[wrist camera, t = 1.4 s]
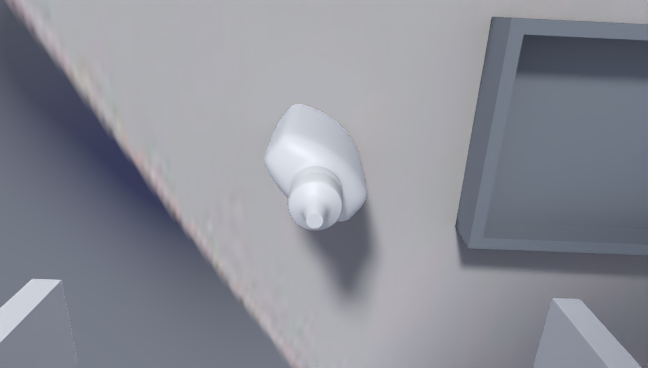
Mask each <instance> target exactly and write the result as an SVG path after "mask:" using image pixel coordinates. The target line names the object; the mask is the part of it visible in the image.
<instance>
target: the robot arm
mask: <svg viewBox="0 0 648 368" xmlns="http://www.w3.org/2000/svg"><path fill="white" fill-rule="evenodd" d="M77 362H78V360H77V355H76V350H75V345H74V340H73V335H72V330H71V325H70V320H69V315H68V310H67V305H66V300H65V295H64V290H63V285H62V280H47V279H46V280H45V279H32V280H31V281H30V282H28V283H27V284H26V285H25V286H24V287H23V288H22V289H21V290H20V291H19V292H17V294H15V295H14V296H13V297H12V298H11V299H10V300H9V301H8V302H7V303H5V304H4V305H3V306H2V307H1V308H0V368H74V367H75V365H76V364H77ZM533 368H642V367H641V366H640V365H639V364H638V363H637V362H636V361H635V359H634V358H633V357H632V356H631V355H630V354H629V353H628V352H627V351H626V349H625V348H624V347H623V346H622V345H621V344H620V343H619V342H618V341H617V339H616V338H615V337H614V336H613V335H612V334H611V333H610V332H609V331H608V329H607V328H606V327H605V326H604V325H603V324H602V323H601V322H600V321H599V319H598V318H597V317H596V316H595V315H594V314H593V313H592V312H591V311H590V309H589V308H588V307H587V306H586V305H585V304H584V303H583V302H582V301H581V299H565V298H552V300H551V304H550V307H549V311H548V315H547V318H546V322H545V326H544V329H543V333H542V336H541V340H540V344H539V347H538V351H537V354H536V358H535V362H534V365H533Z"/></svg>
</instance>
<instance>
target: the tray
mask: <svg viewBox="0 0 648 368" xmlns="http://www.w3.org/2000/svg"><path fill="white" fill-rule="evenodd" d="M455 227H456V229H457V231H458V232H459V234H460V236H461V237H462V239H463V241H464V242H465V244H466V246H467V247H468V248H472V249H497V250H522V251H547V252H572V253H597V254H621V255H646V256H648V24H628V23H607V22H587V21H566V20H546V19H525V18H504V17H492V20H491V26H490V31H489V37H488V43H487V48H486V54H485V60H484V66H483V71H482V77H481V83H480V89H479V94H478V100H477V106H476V112H475V117H474V123H473V129H472V135H471V140H470V146H469V152H468V158H467V163H466V169H465V175H464V181H463V186H462V192H461V198H460V204H459V209H458V215H457V221H456V226H455Z"/></svg>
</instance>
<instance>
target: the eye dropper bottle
mask: <svg viewBox="0 0 648 368" xmlns="http://www.w3.org/2000/svg"><path fill="white" fill-rule="evenodd" d="M264 161H265V166H266V168H267V170H268V172H269V174H270V176H271V178H272V179H273V181H274V182H275V184H276V185H277V186H278V188H279V189H280V190H281V191H282V192H283V194H284V195H285V196H286V197H287V198H288V211H289V214H290V216H291V218H292V219H293V220H294V221H295V223H297V224H298V225H299V226H301V227H303V228H306V229H308V230H314V231H315V230H317V231H318V230H323V229H326V228H329V227H331V225H333V224H334V223H335V222H337V221H346V220H348V219H350V218H351V217H352V216H353V215H354V214H355V213H356V212H357V211H358V210H359V209H360V208H361V206H362V205H363V204H364V203H365V201H366V199H367V187H366V181H365V177H364V172H363V168H362V164H361V159H360V155H359V152H358V149H357V147H356V145H355V143H354V142H353V140H352V139H351V137H350V136H349V134H348V133H347V132H346V131H345V130H344V129H343V127H342V126H341V125H339V124H338V123H337V122H336V121H335V120H334V119H332V118H331V117H329V116H328V115H326V114H325V113H323V112H321V111H319V110H317V109H314V108H312V107H309V106H306V105H302V104H294V105H293V106H291V107H290V108H289V109H288V110H287V112H286V113H285V114H284V115H283V117H282V118H281V119H280V121H279V122H278V124H277V126H276V129H275V131H274V133H273V136H272V138H271V141H270V143H269V146H268V149H267V151H266V154H265V157H264Z"/></svg>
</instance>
